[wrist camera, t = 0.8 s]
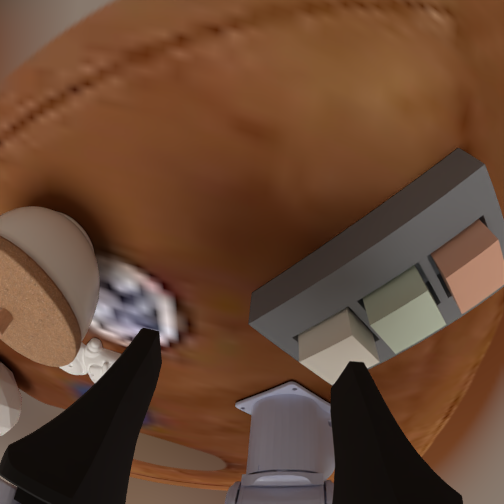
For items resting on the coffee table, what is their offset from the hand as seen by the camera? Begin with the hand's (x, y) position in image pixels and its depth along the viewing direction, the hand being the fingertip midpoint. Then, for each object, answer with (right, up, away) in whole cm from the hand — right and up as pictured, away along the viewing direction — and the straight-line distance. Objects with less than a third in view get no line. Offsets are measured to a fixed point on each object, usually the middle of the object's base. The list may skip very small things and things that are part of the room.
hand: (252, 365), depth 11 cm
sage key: (+9, +1, +7) cm, 12 cm away
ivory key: (+6, -1, +9) cm, 11 cm away
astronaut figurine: (-17, -7, +19) cm, 27 cm away
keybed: (+10, +3, +9) cm, 13 cm away
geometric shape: (-43, -15, +26) cm, 52 cm away
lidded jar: (-15, +5, +10) cm, 18 cm away
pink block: (+13, +4, +5) cm, 15 cm away
